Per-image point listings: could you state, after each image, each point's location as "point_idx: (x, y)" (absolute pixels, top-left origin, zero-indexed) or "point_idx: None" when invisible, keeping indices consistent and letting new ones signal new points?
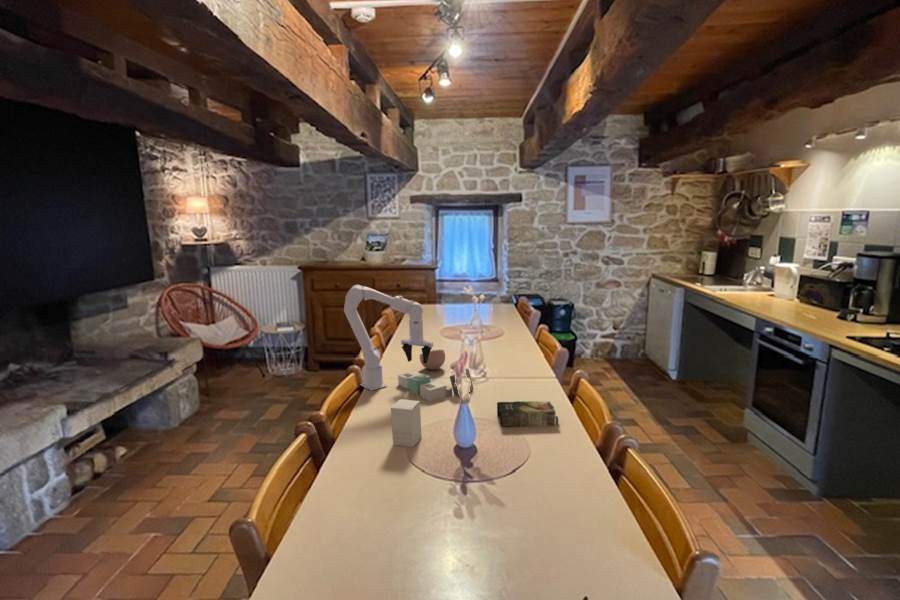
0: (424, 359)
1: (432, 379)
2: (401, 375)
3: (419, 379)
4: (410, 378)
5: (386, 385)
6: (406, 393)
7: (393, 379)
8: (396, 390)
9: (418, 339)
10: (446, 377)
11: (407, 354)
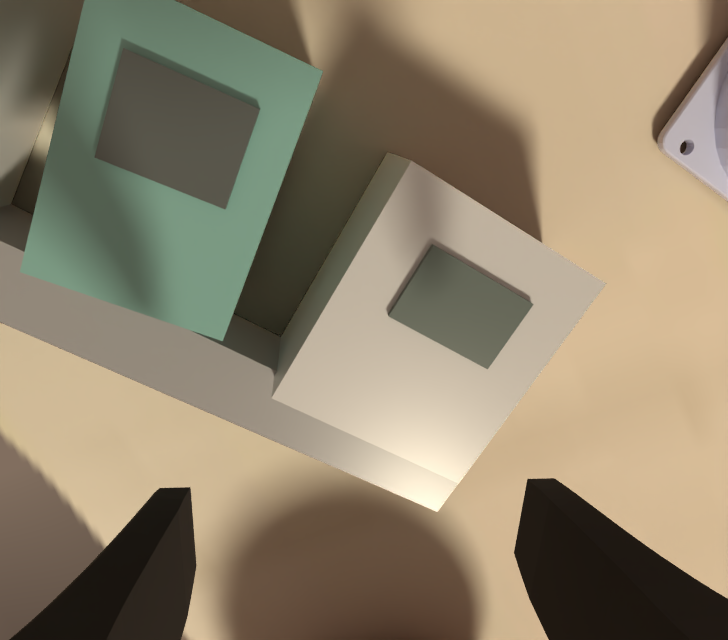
0: (116, 543)
1: (120, 371)
2: (545, 270)
3: (96, 55)
4: (288, 55)
5: (664, 141)
6: (327, 8)
7: (650, 366)
8: (494, 68)
9: None
10: None
11: (641, 581)
